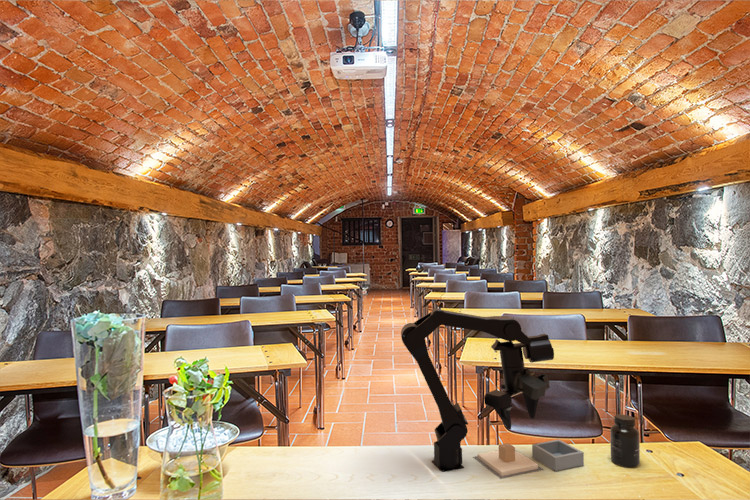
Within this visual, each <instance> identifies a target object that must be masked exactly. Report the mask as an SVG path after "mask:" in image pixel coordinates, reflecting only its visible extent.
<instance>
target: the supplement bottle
mask: <svg viewBox="0 0 750 500" xmlns="http://www.w3.org/2000/svg"><path fill="white" fill-rule="evenodd" d="M613 419H614V421H613V423H614V424H613V425H612V426H610V431H609V432H610V434H609V435H610V460H611V461H612V462H613V463H614V464H615V465H617V466H620V467H623V468H637V467H639V465H640V462H641V461H640V460H641V458H640V457H641V456H640V453H641V452H640V447H641V446H640V432H639V430H638V429H637V428H636V419H635V417H633V416H631V415H627V414H622V413H621V414H620V413H619V414H615V415H614V417H613Z"/></svg>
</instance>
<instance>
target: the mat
mask: <svg viewBox="0 0 750 500" xmlns="http://www.w3.org/2000/svg"><path fill="white" fill-rule="evenodd" d="M472 458H473V459H474V460H475V461H477V462H478V463H480V465H482V466H484V467H485V468H486V469H487V470H488V471H490V472H491V473H493V474H494V475H495V476H496V477H498V478H499V479H506V478H511V477H512V478H513V477H516V476H520V475H526V474H531V473H536V472H541V471H544V469H543V468H542V467H541V466H539V465H538V469H534V470H529V471H524V472H519V473H515V474H510V475H505V476H501V475H500V474H498V473H497V472H496V471H494V470H493V469H492V468H490V467H489V466H488V465H486V464H485V463H484V462H482V461H481V460H480V459H478V455H477V456H472Z"/></svg>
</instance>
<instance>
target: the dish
mask: <svg viewBox="0 0 750 500" xmlns="http://www.w3.org/2000/svg"><path fill="white" fill-rule="evenodd" d="M531 447H532V452H531V453H532V454H531V455H532V458H533V459H534V460H536V461H537V462H539V463H540V464H542V465H544V466H546V467H547V468H548V469H550V470H552V471H554V472H555V473H558V472H562V471H567V470H571V469H576V468H582V467H584V466H585V463H584V461H585V459H584V456H585V455H584V452H583V450H582V451H581V450H580V449H578V448H576V447H575V446H572V445H570V444H569V443H567V442H565V441H563V440H561V439H555V440H553V439H552V440H549V441H548V440H547V441H542V442H538V443H533V444H532V445H531Z"/></svg>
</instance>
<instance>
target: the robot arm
mask: <svg viewBox="0 0 750 500" xmlns="http://www.w3.org/2000/svg"><path fill="white" fill-rule="evenodd" d="M440 326H446V327H452V328H459V329H463V330H469V331H470V330H471V331H477V332H482V333H485V334H488V335H491V336H493V337H495V338H498V339H501V340H504V341H500V340H498V339H495V342H494V343H493V344H492V345H490V347H491V349H492V350H493V351H495V352H499V357H500V362H501V364H500V365H501V368H498V372H499V374H502V377H503V383H502V384H500V387H501V389H503V390H505V391H501V390H497V389H494V390H492V391H489V392H487V393H485V395H484V396H483V398H484V400H483V401H484V405H487V406H489V407H490V408H493V410H494V411H495V412H496V414H497V416H498V417H499V418H500V420H501V421H502V422H503V424H504V427H506V429H507V430H509V431H511V430H512V419H511V410H512V409H513V407H514V405H513V404H512V402H513V400H512V398H514V397H516V396H518V395H520V394H522V396H523V401H524V403H525V406H526V409H527V412H528V415H529V418H530V419H533V420H534V419H535V417H536V413H537V408H538V405H539V404H538V403H539V399H540V398H541V397H542V398H543V397H545V396H546V391H547V390H548V389H550V387H551V386H550V379H549V377H548V374H545V373H541V374H538V375H531V371H530V369H529V368H528V367H525V361H524V359H525V360H528V361H529V363H540V362H547V361H553V360H554V359H555V352H554V351H555V349H554V348H553V345H552V343H551V340H550V338H549V335H548V334H546V333H541V334H538V335H533V336H528V335H526V333H525V332H523V331H522V327H521V324H520V323H519V321H518V320H516V319H515V318H512V317H510V316H508V315H493V316H480V315H474V314H469V313H468V314H467V313H463V312H457V311H452V310H451V311H450V310H444V309H441V308H440V307H439V308H437V307H435V308H433V309H432V310H431V311H430V312H428V313H427V314H425V315H424V316H422V317H421V318H419V319H417V320H416V321H414V322H409V323H406V324H405V325H403V327H401V330H400V336H401V341H402V344H403V346H405V348H406V349H407V351H408V352H409V353H410V355H411V357H413V359H414V360H415V361H416V363H417V364H418V368H419V369H420V372H421V374H422V376H423V379H424V381H425V382H426V384H427V387H428V389H429V391H430V393H431V395H432V397H433V399H434V402H435V403H436V406H437V408H438V412H439V416H440V419H441V422H440V423H439V424H437V426H436V427H435V428H434V433H435V438H436V441H434V442H433V457H434V458H433V459H434V460H431V463H432V464H433V465H434V466H435V467H436V468H437V469H438V470H439V471H441V472H442V473H445V472H451V471H456V470H461V469H464V468H465V467H464V466H463V448H462V447H461V443H462V440H464V439H465V438H466V437H467V435H468V430H469V429H468V425H469V423H468V420H467V418H466V415H464V413H463V411H462V408H461V406H460V404H459V403H458V402H456V403H455V404H454V403H453V402H452V401H451V399H450V398H449V395H448V393H447V391H446V389H445V387H444V385H443V383H442V380H441V379H440V376H439V373H438V372H437V369H436V368H435V366H434V363H433V362H432V359H431V357H430V353H429V351H428V346H427V343H426V338H427V337H428V336H430V335H431V334H433V332H435V330H437V329H438V328H439V327H440ZM515 341H517V343H516V342H515ZM514 342H515V343H514Z"/></svg>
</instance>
